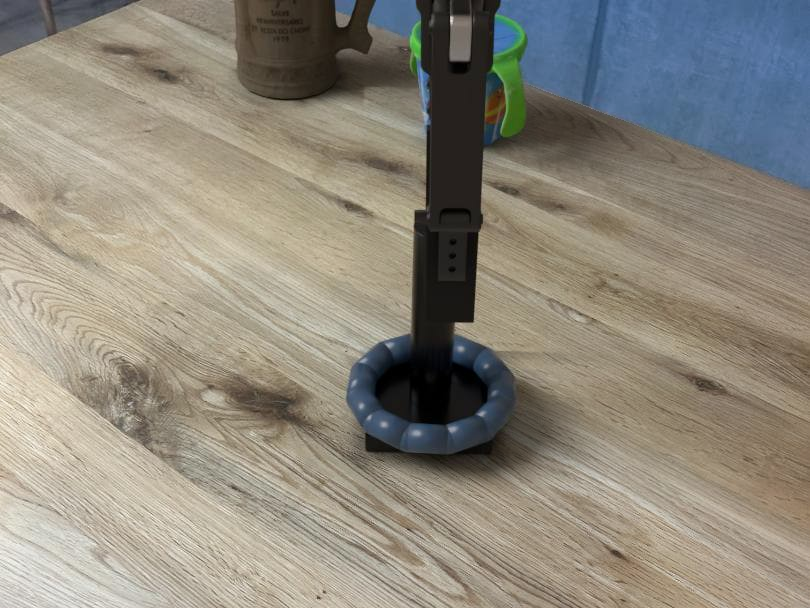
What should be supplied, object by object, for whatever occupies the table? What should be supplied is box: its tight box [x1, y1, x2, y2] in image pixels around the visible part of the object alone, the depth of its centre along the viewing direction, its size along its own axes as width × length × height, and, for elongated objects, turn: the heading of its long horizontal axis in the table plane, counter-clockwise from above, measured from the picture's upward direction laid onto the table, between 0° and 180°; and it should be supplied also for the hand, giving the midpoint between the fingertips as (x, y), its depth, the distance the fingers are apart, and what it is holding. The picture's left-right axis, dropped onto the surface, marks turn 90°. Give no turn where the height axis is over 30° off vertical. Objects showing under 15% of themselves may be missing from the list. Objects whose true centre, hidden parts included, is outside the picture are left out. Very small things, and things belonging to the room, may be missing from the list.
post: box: [364, 223, 495, 455], centre depth 72 cm, size 9×9×16 cm
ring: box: [345, 332, 517, 455], centre depth 75 cm, size 12×12×2 cm
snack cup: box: [409, 13, 529, 147], centre depth 100 cm, size 16×10×10 cm
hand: (448, 271), depth 61 cm, fingers open, 8 cm apart
